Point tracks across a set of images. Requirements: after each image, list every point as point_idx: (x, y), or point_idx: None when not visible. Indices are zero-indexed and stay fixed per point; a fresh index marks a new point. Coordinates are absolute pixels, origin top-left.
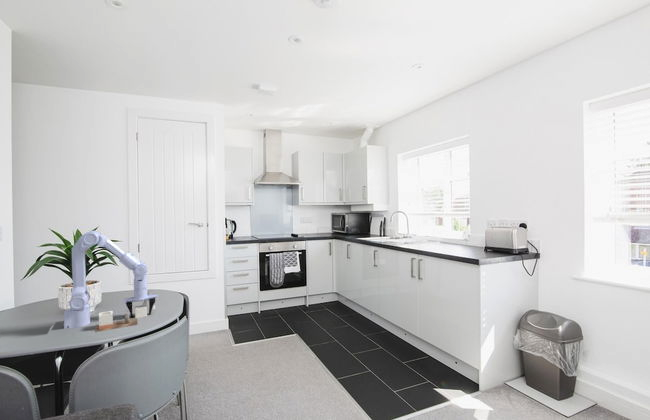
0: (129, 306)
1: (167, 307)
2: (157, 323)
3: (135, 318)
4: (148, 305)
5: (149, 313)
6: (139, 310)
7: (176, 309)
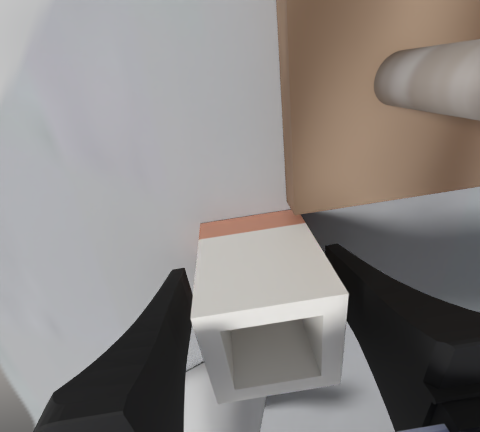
0: (459, 321)
1: None
2: (44, 13)
3: (304, 208)
4: (214, 420)
5: (180, 274)
6: (284, 277)
7: (11, 363)
